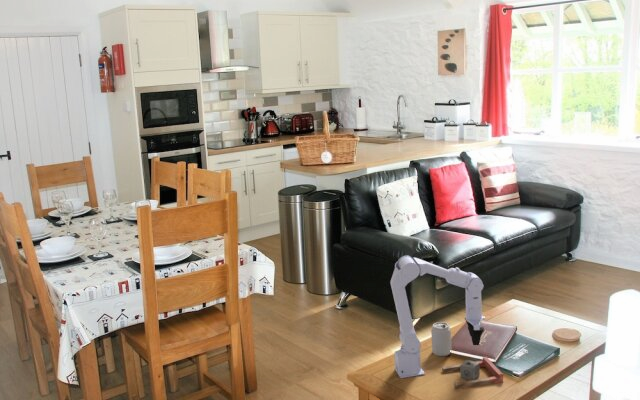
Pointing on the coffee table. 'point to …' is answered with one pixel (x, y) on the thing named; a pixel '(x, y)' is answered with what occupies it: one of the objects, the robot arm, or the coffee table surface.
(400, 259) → the robot arm
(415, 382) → the coffee table surface
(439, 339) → the can
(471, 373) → the dice cube
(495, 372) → the guide channel
